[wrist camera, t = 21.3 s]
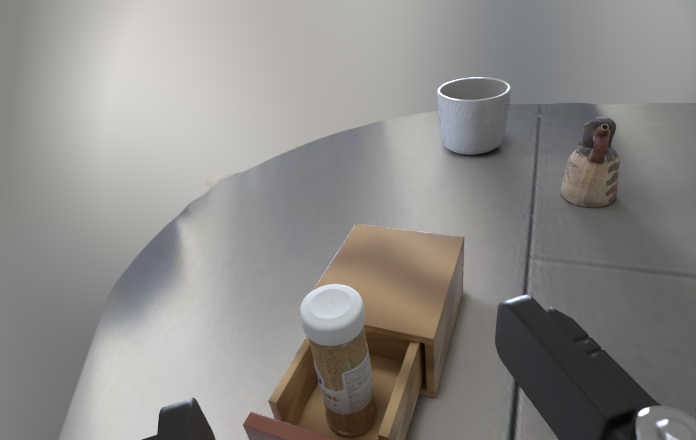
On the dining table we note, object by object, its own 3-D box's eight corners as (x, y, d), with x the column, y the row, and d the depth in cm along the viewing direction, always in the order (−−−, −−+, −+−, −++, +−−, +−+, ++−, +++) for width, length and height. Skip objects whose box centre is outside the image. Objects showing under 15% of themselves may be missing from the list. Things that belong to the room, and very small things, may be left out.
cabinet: (435, 398, 41) (433, 339, 37) (314, 366, 46) (299, 310, 42) (462, 292, 52) (464, 236, 48) (362, 275, 57) (355, 223, 53)
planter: (450, 165, 79) (450, 105, 72) (430, 138, 89) (429, 83, 83) (518, 153, 79) (523, 93, 73) (490, 128, 89) (493, 73, 83)
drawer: (374, 584, 30) (364, 543, 26) (233, 521, 34) (208, 479, 30) (434, 370, 43) (433, 324, 39) (327, 344, 47) (317, 301, 44)
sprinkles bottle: (317, 411, 40) (287, 301, 32) (357, 382, 41) (338, 272, 34) (346, 451, 36) (320, 338, 29) (389, 417, 38) (376, 304, 31)
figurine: (615, 186, 67) (633, 109, 60) (615, 211, 62) (635, 130, 55) (562, 181, 70) (574, 107, 63) (558, 204, 65) (571, 126, 58)
